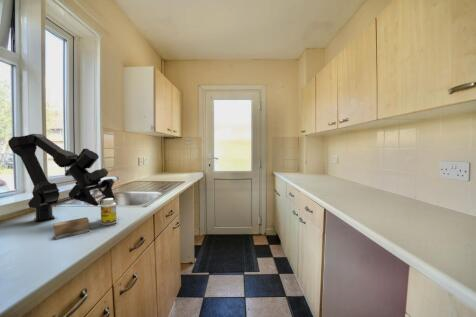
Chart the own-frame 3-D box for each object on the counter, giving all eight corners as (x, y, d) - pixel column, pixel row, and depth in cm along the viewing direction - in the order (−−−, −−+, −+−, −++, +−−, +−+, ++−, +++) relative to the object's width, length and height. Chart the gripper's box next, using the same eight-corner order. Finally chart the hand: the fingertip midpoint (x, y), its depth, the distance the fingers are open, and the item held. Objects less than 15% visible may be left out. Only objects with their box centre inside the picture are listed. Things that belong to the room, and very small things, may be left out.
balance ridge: (55, 239, 78) (55, 226, 77) (53, 235, 82) (53, 222, 81) (89, 231, 85) (89, 219, 84) (86, 228, 89) (86, 216, 88)
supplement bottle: (98, 224, 93) (97, 200, 92) (109, 220, 98) (108, 197, 97) (108, 225, 91) (107, 200, 90) (119, 221, 96) (118, 197, 96)
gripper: (73, 164, 85) (99, 193, 84) (109, 161, 104) (132, 185, 102) (57, 184, 87) (82, 213, 85) (95, 178, 105) (117, 202, 104)
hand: (106, 202), depth 94 cm, fingers open, 9 cm apart
